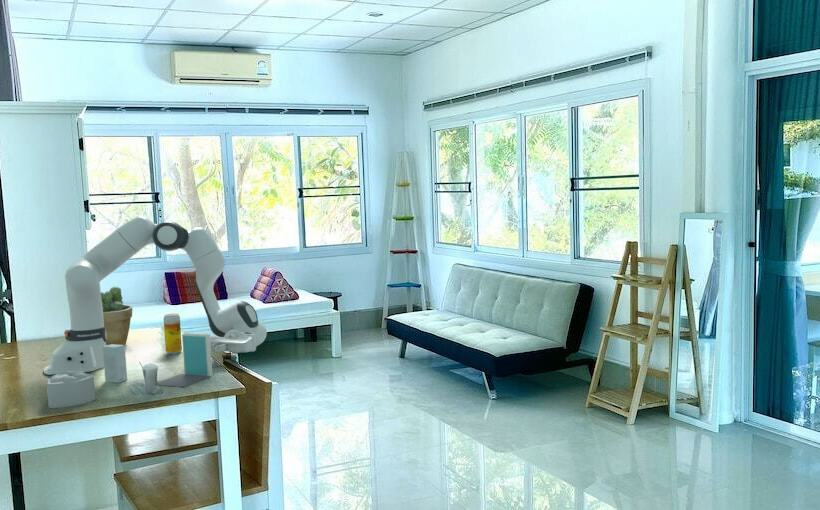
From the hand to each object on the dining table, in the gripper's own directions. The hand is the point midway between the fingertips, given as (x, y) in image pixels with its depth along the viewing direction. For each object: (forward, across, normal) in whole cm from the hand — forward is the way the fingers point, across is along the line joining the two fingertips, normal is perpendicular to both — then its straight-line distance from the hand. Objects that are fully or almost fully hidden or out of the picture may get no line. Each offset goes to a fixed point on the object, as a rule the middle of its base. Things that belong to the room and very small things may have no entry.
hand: (212, 349), depth 261 cm
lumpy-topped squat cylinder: (+46, -18, +7) cm, 50 cm away
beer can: (-18, -32, +7) cm, 38 cm away
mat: (+17, 0, +7) cm, 19 cm away
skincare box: (+23, -22, +7) cm, 33 cm away
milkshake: (+32, 0, +7) cm, 33 cm away
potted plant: (-23, -68, +7) cm, 73 cm away
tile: (+9, 0, +7) cm, 11 cm away
